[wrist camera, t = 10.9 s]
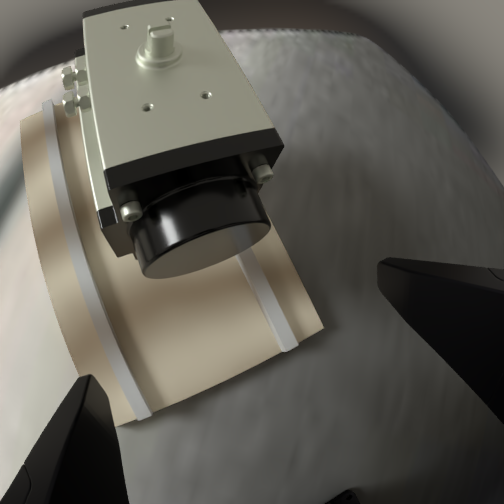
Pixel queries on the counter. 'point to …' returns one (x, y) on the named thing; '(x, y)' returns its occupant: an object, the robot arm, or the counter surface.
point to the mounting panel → (149, 290)
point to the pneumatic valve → (170, 136)
